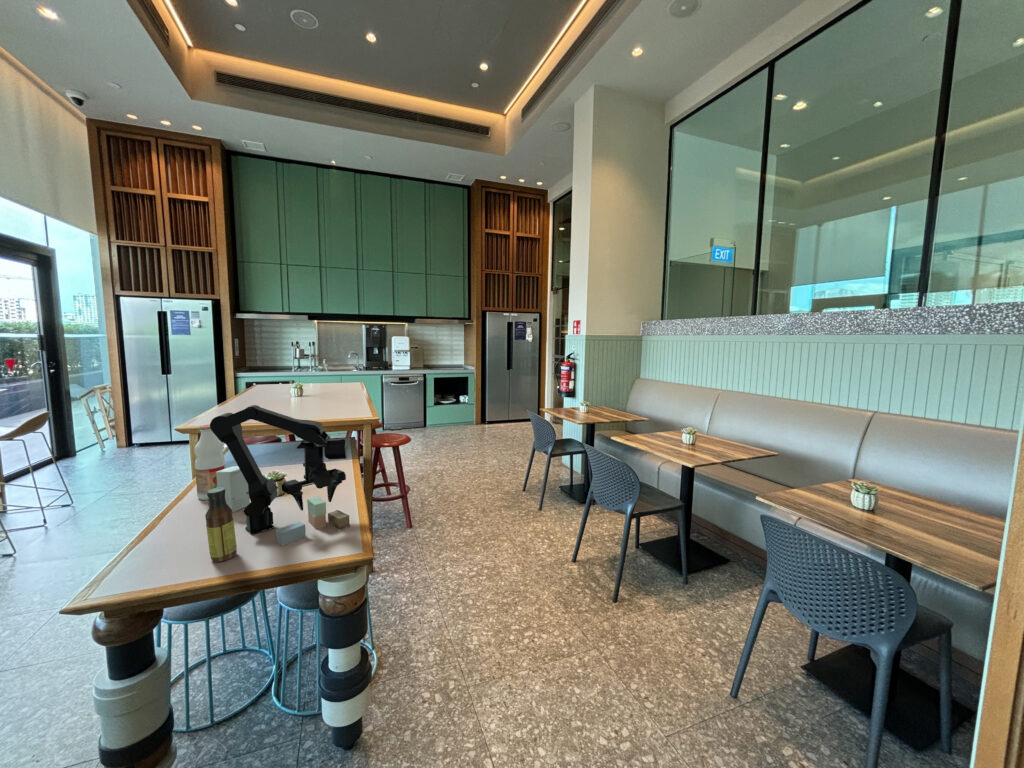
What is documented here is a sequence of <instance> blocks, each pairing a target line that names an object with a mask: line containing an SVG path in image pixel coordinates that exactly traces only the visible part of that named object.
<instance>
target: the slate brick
mask: <svg viewBox="0 0 1024 768" xmlns="http://www.w3.org/2000/svg"><path fill="white" fill-rule="evenodd" d="M275 531H276V532H275V533H276V543H278V544H279V545H281V546H284V545H288V544H290V543H292V542H295V541H297V539H298V540H300V539H302V537H303V538H304V537H306V536H307V534H306V523H303V522H301V521H297V522H294V523H291V524H289V525H286V526H284V527H283V526H282V527H280V528H277V529H276V530H275Z"/></svg>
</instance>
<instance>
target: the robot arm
mask: <svg viewBox="0 0 1024 768" xmlns="http://www.w3.org/2000/svg"><path fill="white" fill-rule="evenodd" d="M250 420H252V421H253V420H254V421H255V422H256V421H257V422H259V423H262V424H265V425H268V426H272V427H275V428H278V429H281V430H284V431H287V432H289V433H291V434H293V435H294V436H296V437H297V438H299V439H301V442H300V443H299V444H298V445H297V446H296V449H300V450H301V449H303V461H304V462H303V463H302V466H303V467H304V474H303V479H304V480H301V481H299V480H297V479H295V478H294V479H289V480H287V481H283V482H282V484H281V491H282V492H284V493H285V494H286V495H291V496H292V497H293V499H294V500H295V502H296V504H297V506H298V508H299V510H300V511H304V502H303V494H304V492H303V491H302V490H303V487H308V486H312V485H314V486H315V487H316V488H317V489H319V490H321V489H323V488H326V493H327V501H328V502H329V503H331V502H332V500H333V497H334V494H335V492H336V489H337V488H338V486H339V485H340V484H342V483H343V481H346V480H347V475H346V472H344V471H343V470H341V469H337V468H333V469H332V468H331V469H327V465H326V463H325V460H324V458H326V459H328V460H330V461H331V460H345V459H348V457H349V446H348V443H347V438H346V437H342V438H331V436H330V435H329V434H328V433H327V432H326V431H325V429H324V425H323V424H322V423H321V422H319V421H318V420H317V421H316V420H310V419H300V418H293V417H292V416H288V415H285V414H283V413H279V412H276V411H273V410H270V409H267V408H265V407H261V406H260V405H257V404H253V405H252V404H251V405H250V406H248V407H246V408H245V409H241V410H239V411H237V412H235V413H233V412H225V413H222V414H220V415H217V416H215V417H214V418H212V419H211V421H210V422H209V423H210V424H209V425H210V429H211V430H212V432H213V433H214V434H215V435H216V437H217V438H218V439H219V440H220V441H221V442H222V443H223V444H225V445H226V446H227V448H228V450H229V453H230V454H231V455H232V458H233V459H234V461H235V463H236V466H238V467H239V469H240V471H241V472H242V474H243V476H244V478H245V480H246V482H247V484H248V493H249V498H250V504H249V505H248V506H245V507H244V508H243V510H242V512H243V514H244V516H245V518H246V526H245V528H244V529H245V530H246V531H247V532H248V533H249V534H250V535H255V534H258V533H262V532H265V531H267V530H272V529H274V528H275V526H274V513H273V511H272V509H271V507H270V505H271V504H272V502H274V500H275V499H277V495H278V493H279V492H278V489H279V487H278V486H277V485H276V483H275V481H274V478H273V477H271V478H269V479H267V477H265V476H264V475H263V473H262V471H261V469H260V468H259V465H258V464H257V462H256V460H255V457H254V456H253V454H252V453H251V451H250V449H249V447H248V445H247V443H246V441H245V439H244V436H243V427H242V424H243V423H245V422H248V421H250Z"/></svg>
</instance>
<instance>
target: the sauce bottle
mask: <svg viewBox="0 0 1024 768" xmlns="http://www.w3.org/2000/svg"><path fill="white" fill-rule="evenodd" d="M207 496H208V498H209V500H208V510H207V511H206V513H205V515H204V517H205V525H206V535H207V541H208V550H209V557H210V560H211V561H212V562H215V563H219V562H226V561H229V560H230V559H232V558H234V557H235V556H237V552H238V551H237V550H238V548H237V547H238V545H237V539H236V531H235V522H234V517H233V513H232V509H231V508H230V507H229V506H228V505H227V503H226V500H225V488H214V489H211V490H209V491H207Z"/></svg>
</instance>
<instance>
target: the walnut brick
mask: <svg viewBox="0 0 1024 768" xmlns="http://www.w3.org/2000/svg"><path fill="white" fill-rule="evenodd" d="M327 525H329V526H330V527H332V528H334V529H336V530H337V531H342V530H345V529H348V528H349V527H350V525H351V524H350V515H349V514H347V513H345V512H343V511H341V510H338V509H336V510H334V511H331V512H328V513H327Z"/></svg>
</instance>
